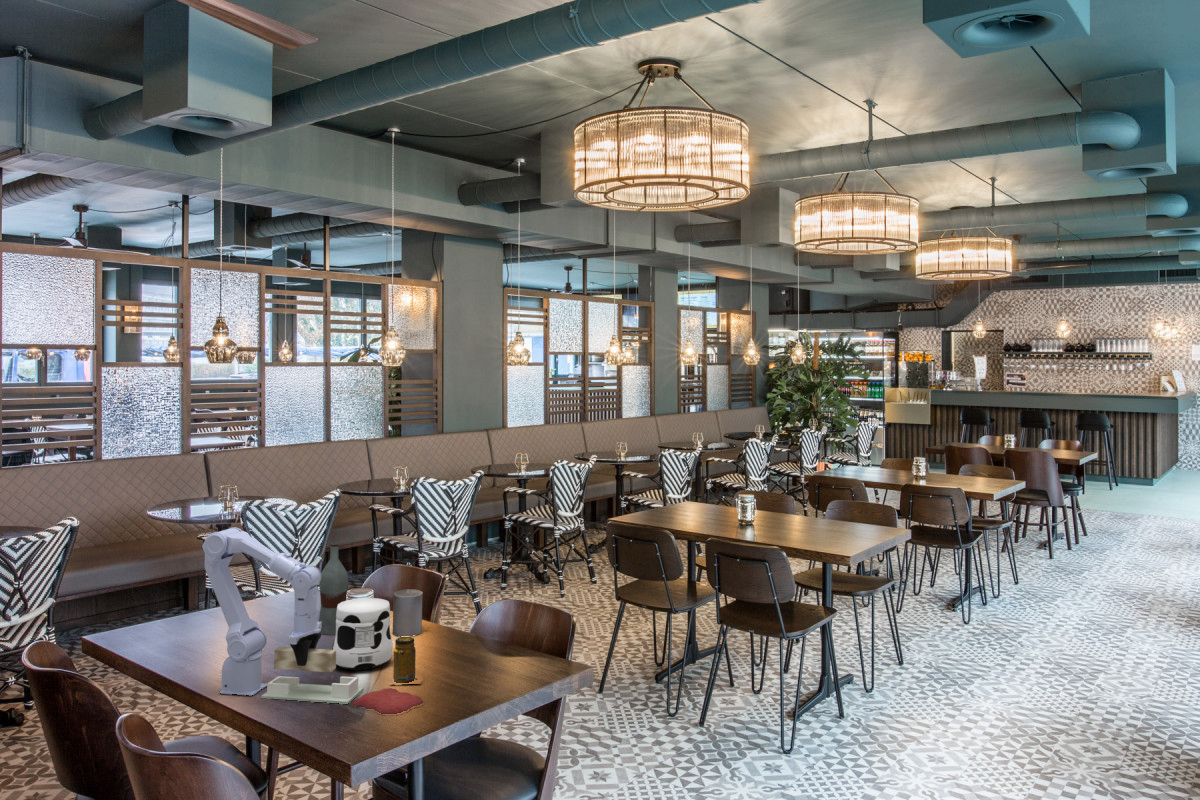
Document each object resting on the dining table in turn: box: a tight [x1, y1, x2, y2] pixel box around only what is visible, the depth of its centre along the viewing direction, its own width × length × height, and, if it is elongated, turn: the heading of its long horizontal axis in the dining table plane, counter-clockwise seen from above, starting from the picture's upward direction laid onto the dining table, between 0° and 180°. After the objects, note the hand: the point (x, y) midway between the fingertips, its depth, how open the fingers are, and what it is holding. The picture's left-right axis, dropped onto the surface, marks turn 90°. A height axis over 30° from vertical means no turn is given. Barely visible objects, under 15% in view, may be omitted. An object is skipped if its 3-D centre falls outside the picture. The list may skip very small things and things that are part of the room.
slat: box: [273, 646, 337, 673], centre depth 214 cm, size 16×3×5 cm, turn 83°
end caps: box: [266, 675, 359, 699], centre depth 214 cm, size 23×6×4 cm, turn 83°
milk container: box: [331, 597, 394, 671], centre depth 238 cm, size 17×17×18 cm
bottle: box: [318, 542, 349, 636], centre depth 270 cm, size 9×9×30 cm
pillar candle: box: [392, 588, 424, 637], centre depth 270 cm, size 10×10×15 cm
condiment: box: [392, 636, 417, 683], centre depth 225 cm, size 7×8×12 cm
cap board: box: [260, 683, 365, 705], centre depth 214 cm, size 24×10×1 cm, turn 83°
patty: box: [351, 687, 424, 714], centre depth 209 cm, size 18×14×2 cm
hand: (304, 663), depth 214 cm, fingers closed on slat, 3 cm apart
